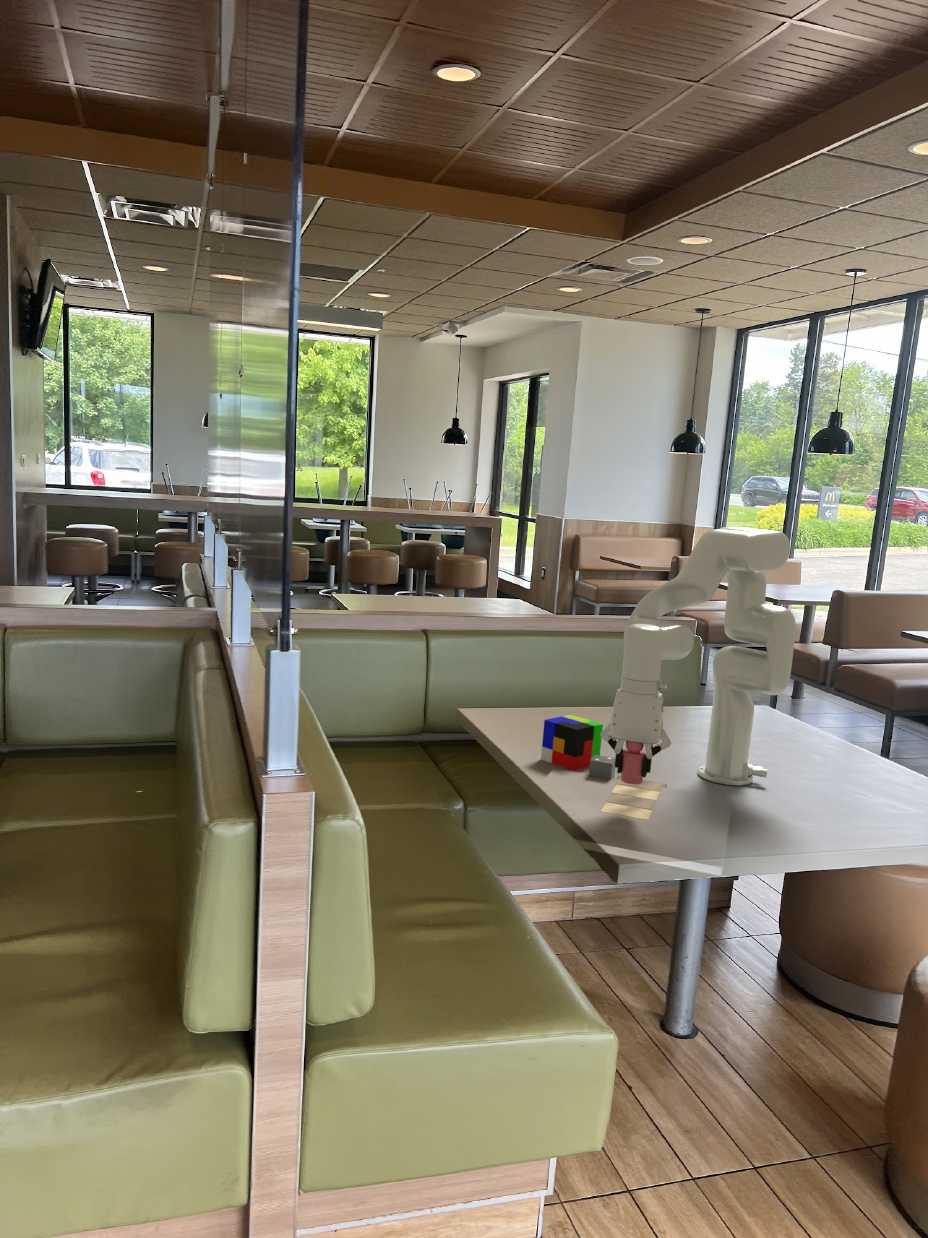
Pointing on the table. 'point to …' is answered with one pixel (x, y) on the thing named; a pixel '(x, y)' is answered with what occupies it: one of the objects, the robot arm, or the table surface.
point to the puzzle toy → (571, 741)
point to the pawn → (632, 763)
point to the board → (633, 799)
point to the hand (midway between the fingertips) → (632, 772)
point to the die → (602, 767)
